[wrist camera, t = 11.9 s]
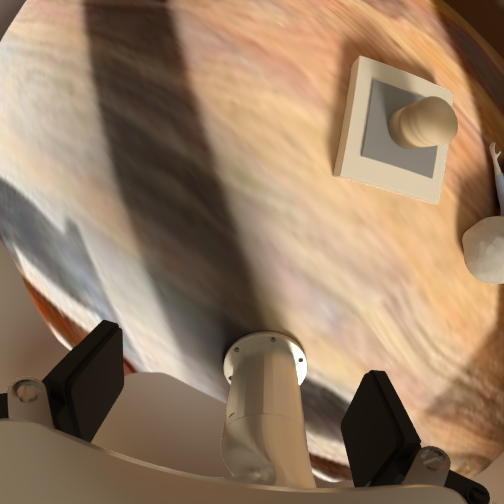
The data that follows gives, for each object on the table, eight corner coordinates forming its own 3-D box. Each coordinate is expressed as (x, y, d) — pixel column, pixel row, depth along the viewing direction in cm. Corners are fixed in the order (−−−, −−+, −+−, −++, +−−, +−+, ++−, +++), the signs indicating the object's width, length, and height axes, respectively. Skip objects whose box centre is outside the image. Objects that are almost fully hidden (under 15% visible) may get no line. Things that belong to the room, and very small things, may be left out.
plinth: (424, 201, 38) (439, 205, 33) (332, 176, 38) (341, 176, 33) (439, 98, 34) (455, 92, 29) (351, 65, 34) (360, 54, 29)
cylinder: (420, 153, 32) (455, 151, 24) (385, 142, 32) (415, 135, 24) (424, 116, 31) (458, 106, 23) (390, 104, 31) (419, 89, 23)
